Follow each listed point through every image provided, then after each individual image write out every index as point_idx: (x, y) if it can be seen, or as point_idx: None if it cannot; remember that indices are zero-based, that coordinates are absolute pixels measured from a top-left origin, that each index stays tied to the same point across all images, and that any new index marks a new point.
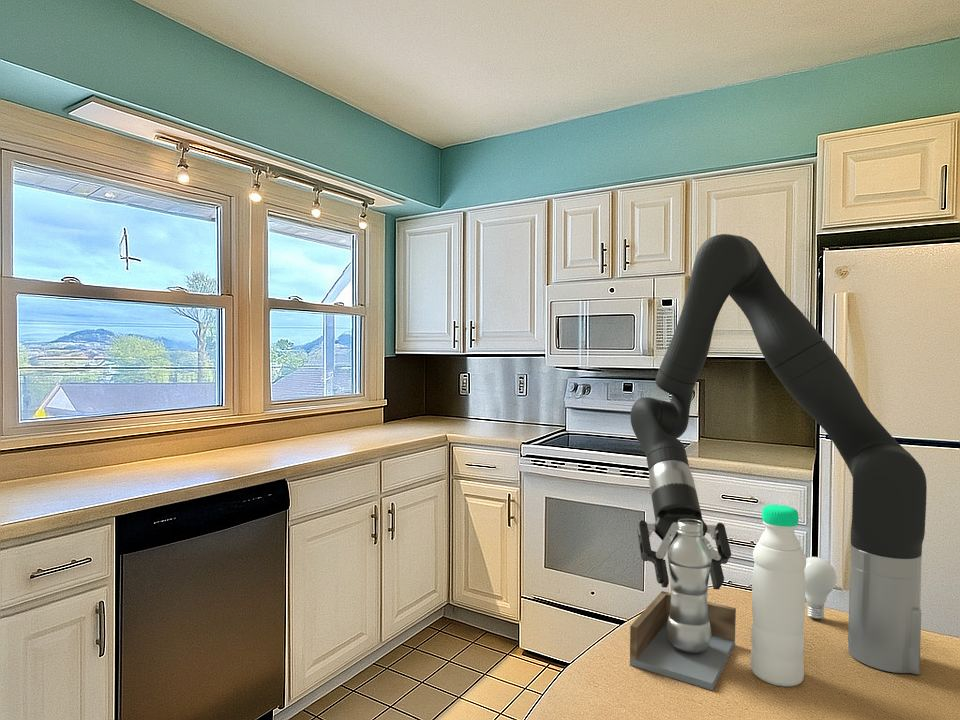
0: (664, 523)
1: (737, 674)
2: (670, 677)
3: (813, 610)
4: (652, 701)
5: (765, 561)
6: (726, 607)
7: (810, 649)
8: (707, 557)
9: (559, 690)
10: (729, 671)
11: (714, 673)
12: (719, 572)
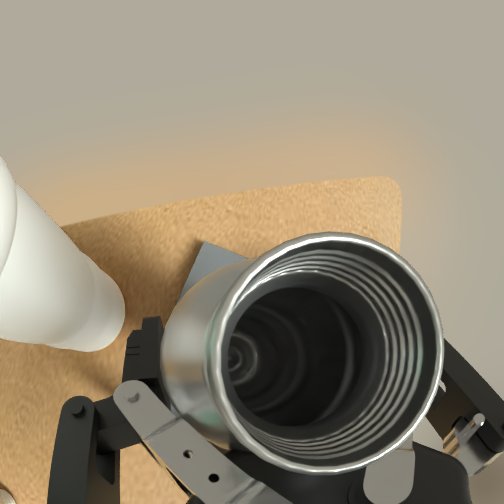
0: (437, 489)
1: (151, 304)
2: None
3: (3, 497)
4: (293, 204)
5: (3, 161)
6: None
7: (22, 405)
8: (189, 292)
9: (397, 212)
10: (162, 312)
11: (194, 273)
12: (137, 356)
